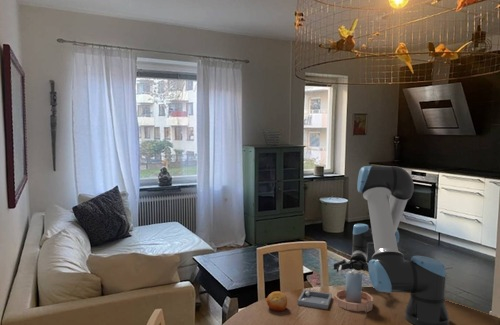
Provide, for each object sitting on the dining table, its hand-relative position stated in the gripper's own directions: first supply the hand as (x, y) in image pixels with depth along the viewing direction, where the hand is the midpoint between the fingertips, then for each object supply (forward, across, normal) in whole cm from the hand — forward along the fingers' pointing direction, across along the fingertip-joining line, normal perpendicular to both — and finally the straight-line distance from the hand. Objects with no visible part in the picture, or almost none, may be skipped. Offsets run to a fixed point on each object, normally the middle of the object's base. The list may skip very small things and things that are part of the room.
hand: (355, 274), depth 164 cm
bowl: (+9, 0, -10) cm, 13 cm away
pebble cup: (+9, 0, -9) cm, 12 cm away
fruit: (+25, +28, -10) cm, 39 cm away
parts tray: (+13, +15, -10) cm, 22 cm away
